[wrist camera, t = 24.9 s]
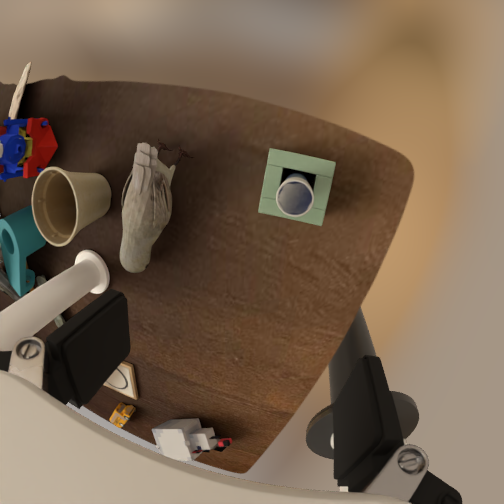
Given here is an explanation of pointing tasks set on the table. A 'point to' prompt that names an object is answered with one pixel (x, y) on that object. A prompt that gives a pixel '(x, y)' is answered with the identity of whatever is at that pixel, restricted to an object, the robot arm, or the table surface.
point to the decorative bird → (145, 205)
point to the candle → (52, 298)
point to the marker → (295, 195)
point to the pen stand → (300, 162)
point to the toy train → (25, 147)
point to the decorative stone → (19, 93)
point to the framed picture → (123, 380)
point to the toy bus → (122, 414)
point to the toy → (186, 439)
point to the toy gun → (8, 286)
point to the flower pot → (68, 203)
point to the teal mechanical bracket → (20, 247)
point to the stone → (59, 319)
